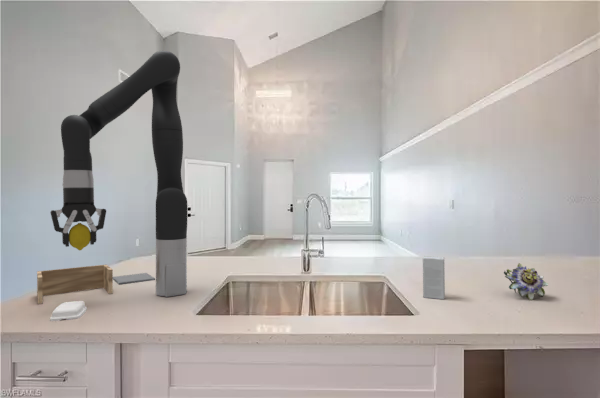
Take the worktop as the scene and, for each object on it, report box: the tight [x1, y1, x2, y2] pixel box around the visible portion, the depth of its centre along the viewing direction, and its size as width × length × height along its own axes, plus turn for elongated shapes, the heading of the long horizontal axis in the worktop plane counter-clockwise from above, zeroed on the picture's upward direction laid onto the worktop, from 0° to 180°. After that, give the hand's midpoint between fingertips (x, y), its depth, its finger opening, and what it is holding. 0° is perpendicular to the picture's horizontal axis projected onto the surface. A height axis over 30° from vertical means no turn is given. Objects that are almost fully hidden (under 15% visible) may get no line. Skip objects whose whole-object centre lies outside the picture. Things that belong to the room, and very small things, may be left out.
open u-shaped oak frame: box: [36, 264, 114, 305], centre depth 112 cm, size 11×19×8 cm, turn 127°
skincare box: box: [422, 255, 446, 300], centre depth 110 cm, size 6×4×12 cm
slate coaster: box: [113, 272, 156, 285], centre depth 134 cm, size 12×12×1 cm
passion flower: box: [503, 262, 549, 301], centre depth 111 cm, size 11×11×12 cm
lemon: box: [68, 222, 91, 251], centre depth 104 cm, size 6×6×8 cm
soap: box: [49, 300, 88, 322], centre depth 93 cm, size 9×7×3 cm
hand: (80, 245), depth 104 cm, fingers closed on lemon, 5 cm apart
